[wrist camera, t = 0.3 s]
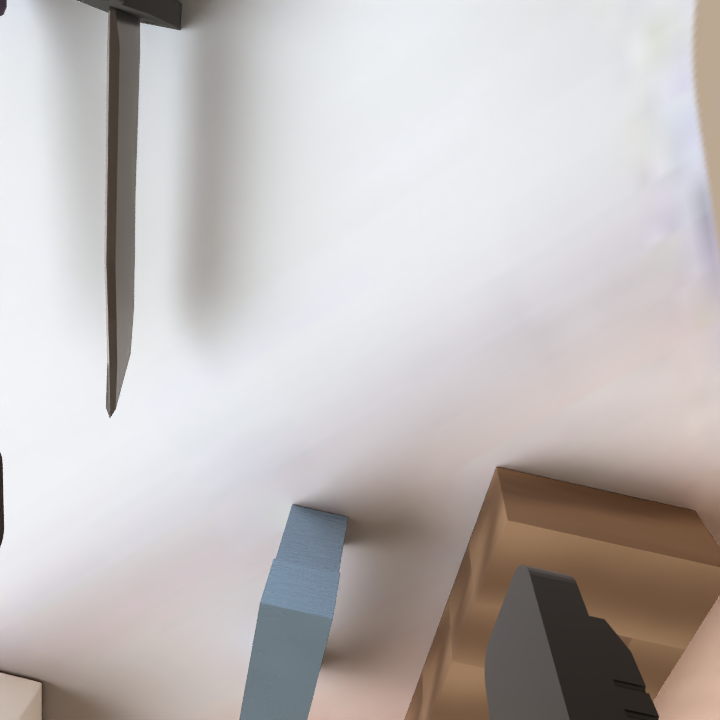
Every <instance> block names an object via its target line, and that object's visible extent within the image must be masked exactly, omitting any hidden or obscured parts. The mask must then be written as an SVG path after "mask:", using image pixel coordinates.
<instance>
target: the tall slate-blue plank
mask: <svg viewBox="0 0 720 720" xmlns="http://www.w3.org/2000/svg"><path fill="white" fill-rule="evenodd" d="M347 520H348V517H346V516H341V515H337V514H332V513H328V512H323V511H319V510H314V509H309V508H305V507H300V506H296V505H292V507H291V511H290V514H289V517H288V520H287V524H286V527H285V530H284V534H283V537H282V540H281V543H280V547H279V550H278V553H277V557H276V559H274V560H273V563H272V566H271V570H270V573H269V576H268V579H267V583H266V586H265V589H264V592H263V596H262V599H261V602H260V607H259V613H258V618H257V624H256V630H255V635H254V641H253V646H252V652H251V658H250V663H249V669H248V675H247V680H246V686H245V691H244V697H243V703H242V708H241V714H240V719H239V720H307V718H308V714H309V710H310V707H311V703H312V699H313V695H314V691H315V687H316V683H317V679H318V675H319V671H320V667H321V663H322V659H323V655H324V651H325V648H326V644H327V640H328V636H329V632H330V628H331V624H332V620H333V615H334V608H335V602H336V596H337V590H338V583H339V577H340V573H339V569H340V563H341V556H342V550H343V544H344V538H345V532H346V526H347Z"/></svg>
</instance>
